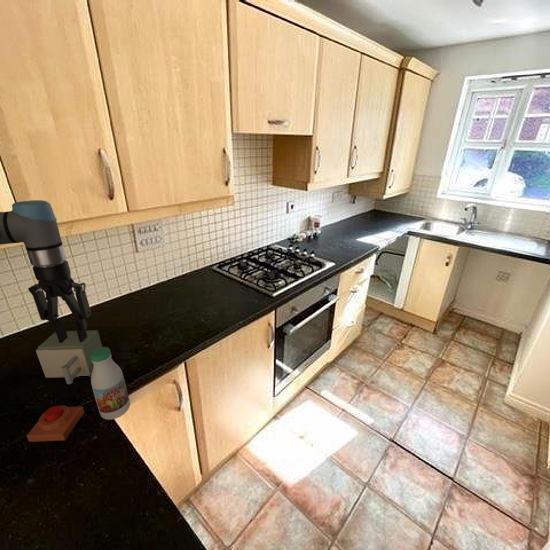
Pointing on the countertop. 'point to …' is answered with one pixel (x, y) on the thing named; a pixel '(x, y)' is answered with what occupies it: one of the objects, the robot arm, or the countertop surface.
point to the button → (53, 413)
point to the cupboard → (75, 344)
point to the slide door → (64, 363)
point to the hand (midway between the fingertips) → (73, 339)
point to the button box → (56, 425)
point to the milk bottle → (108, 385)
